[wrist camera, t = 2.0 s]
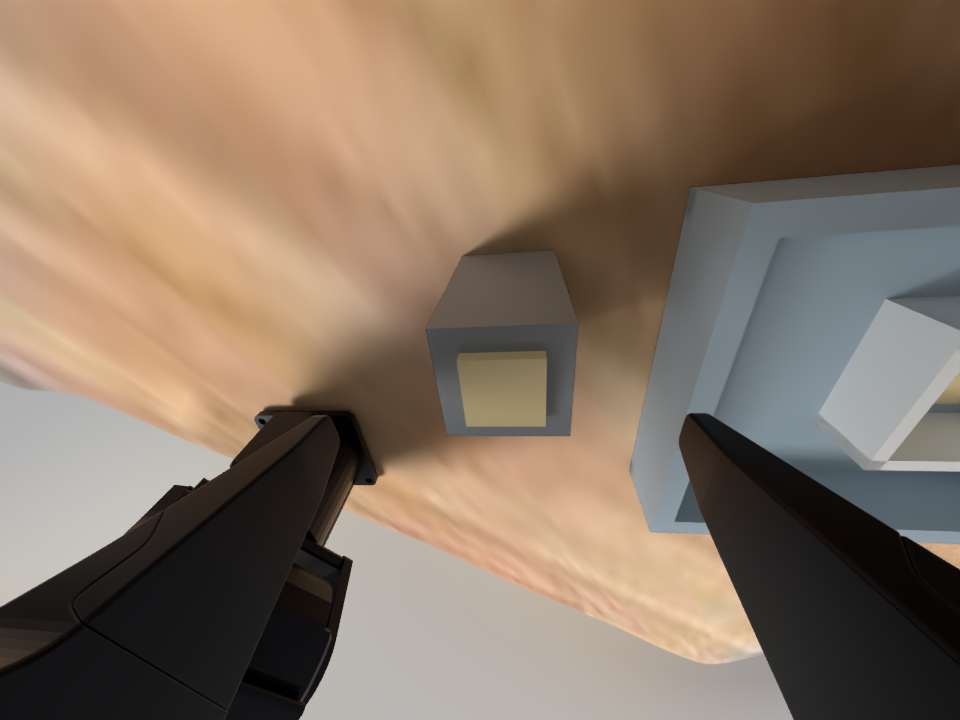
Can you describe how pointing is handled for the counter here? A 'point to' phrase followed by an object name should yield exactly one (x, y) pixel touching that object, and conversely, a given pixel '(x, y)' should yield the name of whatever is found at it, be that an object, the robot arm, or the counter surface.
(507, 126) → the counter surface
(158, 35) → the counter surface
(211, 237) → the counter surface
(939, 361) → the frame
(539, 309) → the connector
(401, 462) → the counter surface
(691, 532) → the walled box
